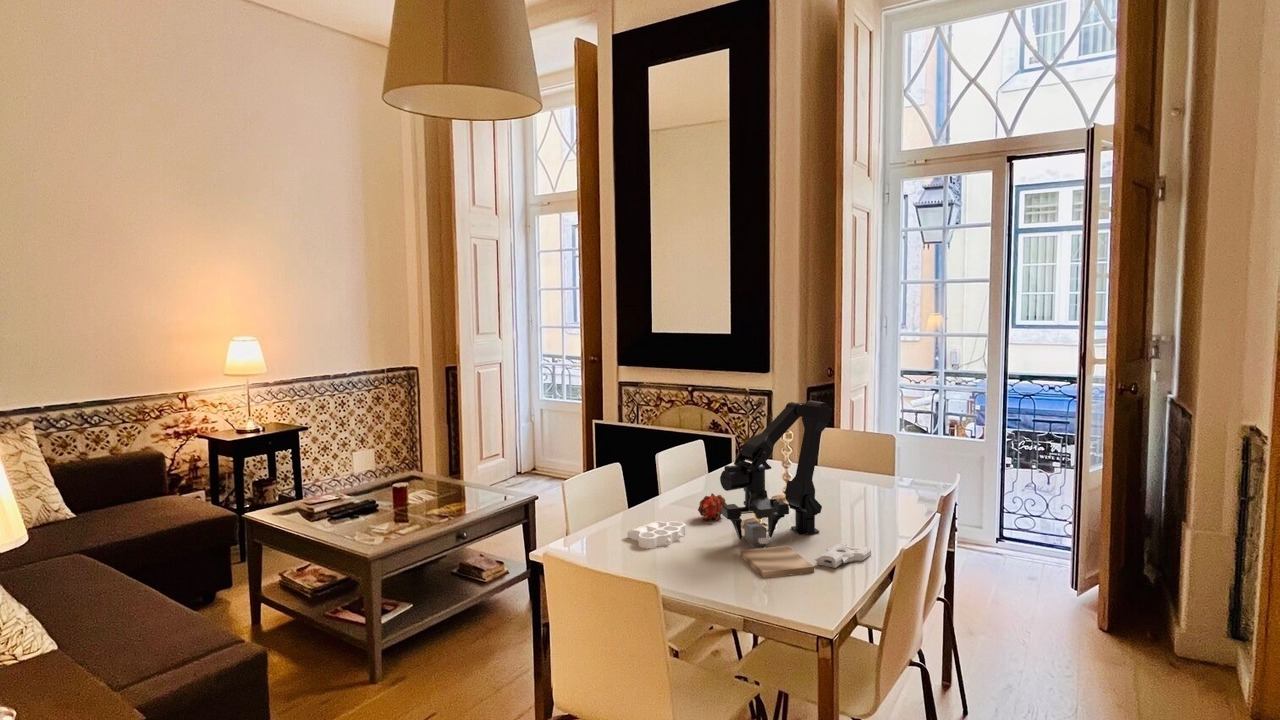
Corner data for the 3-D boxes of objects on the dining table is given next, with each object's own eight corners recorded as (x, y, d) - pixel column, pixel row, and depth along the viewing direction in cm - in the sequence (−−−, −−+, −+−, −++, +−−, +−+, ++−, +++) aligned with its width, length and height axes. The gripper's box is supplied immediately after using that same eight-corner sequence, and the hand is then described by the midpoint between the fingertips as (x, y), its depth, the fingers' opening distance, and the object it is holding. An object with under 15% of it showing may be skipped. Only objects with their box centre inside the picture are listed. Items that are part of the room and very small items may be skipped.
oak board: (740, 555, 192) (740, 550, 192) (787, 550, 195) (787, 545, 195) (763, 577, 176) (763, 572, 176) (814, 572, 180) (814, 566, 179)
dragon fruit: (726, 518, 229) (704, 533, 221) (708, 500, 233) (685, 514, 225) (737, 501, 225) (715, 516, 216) (718, 483, 228) (696, 496, 220)
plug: (740, 535, 209) (739, 518, 208) (752, 533, 210) (752, 517, 209) (758, 551, 195) (758, 533, 195) (771, 549, 196) (771, 532, 196)
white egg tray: (659, 526, 219) (696, 536, 209) (619, 542, 206) (657, 553, 196) (659, 516, 219) (696, 525, 209) (619, 531, 206) (657, 541, 196)
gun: (849, 561, 178) (812, 553, 184) (849, 574, 178) (812, 566, 184) (873, 544, 192) (838, 537, 198) (873, 556, 192) (838, 550, 198)
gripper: (734, 495, 191) (734, 551, 193) (797, 490, 195) (797, 544, 197) (720, 485, 202) (721, 538, 203) (780, 480, 206) (780, 532, 207)
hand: (755, 538), depth 202 cm, fingers open, 9 cm apart
